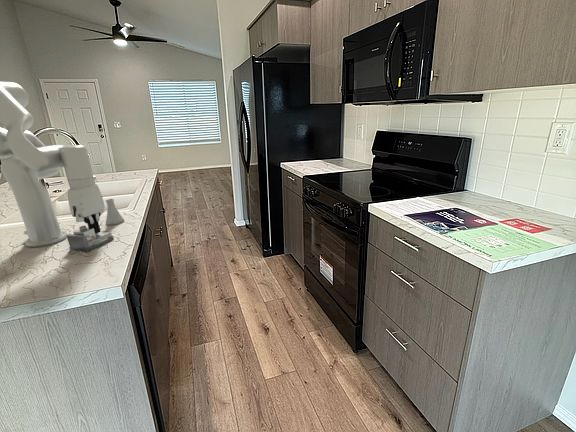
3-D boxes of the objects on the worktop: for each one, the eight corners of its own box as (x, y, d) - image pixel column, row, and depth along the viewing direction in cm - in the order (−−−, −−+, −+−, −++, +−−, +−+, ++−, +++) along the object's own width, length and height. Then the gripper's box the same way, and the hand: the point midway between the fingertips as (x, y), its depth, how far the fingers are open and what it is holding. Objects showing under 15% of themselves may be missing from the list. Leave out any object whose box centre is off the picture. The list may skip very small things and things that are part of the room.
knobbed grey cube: (87, 240, 111) (82, 224, 109) (101, 241, 109) (97, 225, 107) (77, 245, 107) (72, 228, 105) (91, 246, 105) (87, 229, 103)
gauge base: (96, 237, 116) (93, 223, 115) (113, 239, 114) (110, 225, 112) (70, 250, 107) (65, 235, 105) (88, 252, 104) (83, 237, 102)
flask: (102, 222, 132) (97, 200, 128) (120, 218, 136) (115, 196, 133) (109, 226, 127) (103, 203, 123) (127, 221, 132) (122, 199, 128)
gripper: (92, 177, 113) (103, 224, 119) (52, 188, 99) (68, 240, 106) (108, 178, 111) (119, 225, 117) (70, 188, 97) (85, 242, 104)
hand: (95, 232), depth 111 cm, fingers closed
